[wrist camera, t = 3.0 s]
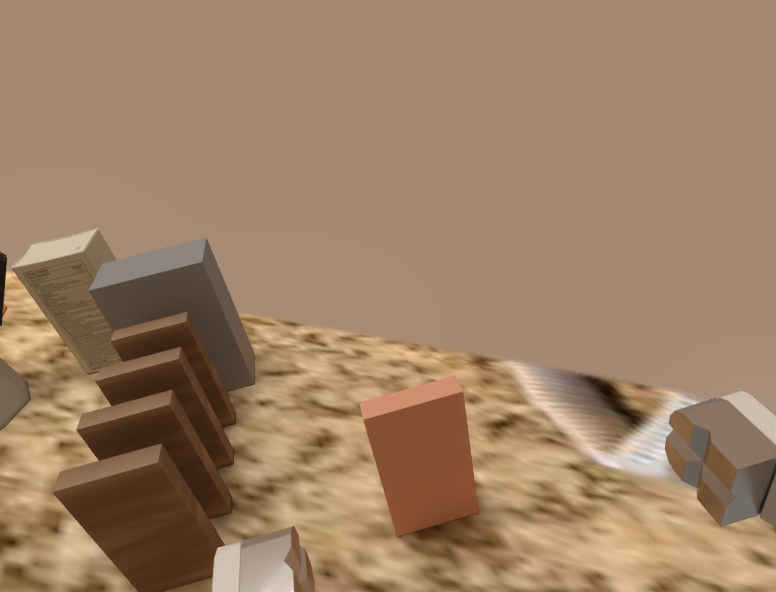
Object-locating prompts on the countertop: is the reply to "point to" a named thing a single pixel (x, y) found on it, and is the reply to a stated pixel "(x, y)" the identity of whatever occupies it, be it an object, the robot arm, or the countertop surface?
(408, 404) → the terracotta domino
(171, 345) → the walnut domino
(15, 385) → the coffee maker
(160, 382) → the walnut domino
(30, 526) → the countertop surface
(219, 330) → the end block
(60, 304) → the skincare box
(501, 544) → the countertop surface
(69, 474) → the walnut domino
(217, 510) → the walnut domino
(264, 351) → the countertop surface
